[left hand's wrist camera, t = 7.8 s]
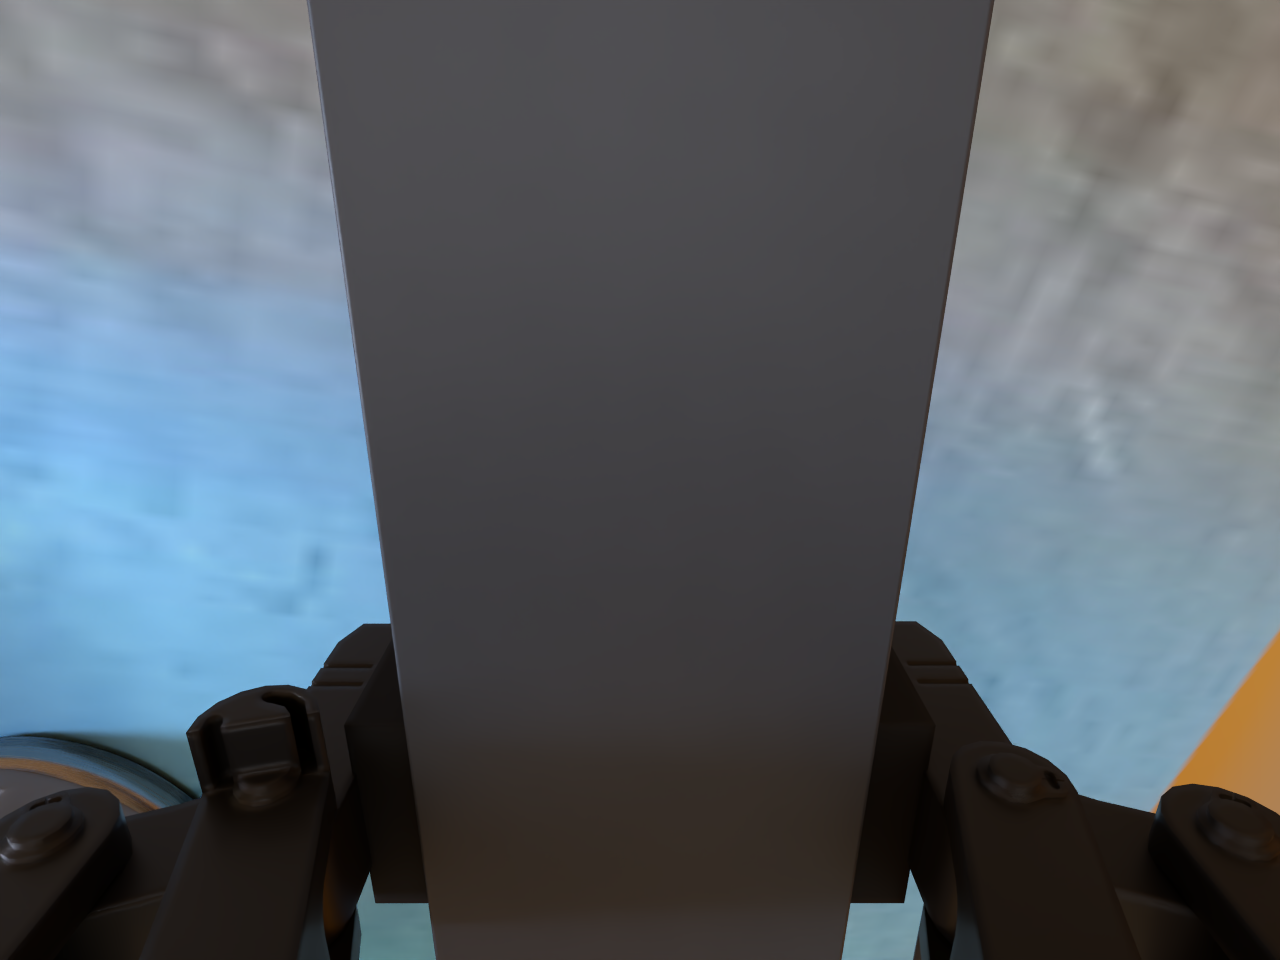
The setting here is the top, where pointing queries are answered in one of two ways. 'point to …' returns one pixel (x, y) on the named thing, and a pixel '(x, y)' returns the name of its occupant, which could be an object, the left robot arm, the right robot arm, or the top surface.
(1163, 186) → the top surface
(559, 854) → the post
